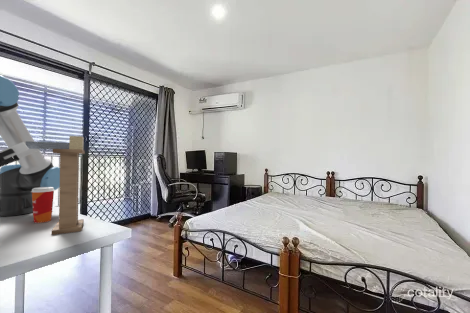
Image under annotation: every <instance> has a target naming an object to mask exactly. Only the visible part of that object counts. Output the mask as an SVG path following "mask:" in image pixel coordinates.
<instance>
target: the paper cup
mask: <svg viewBox="0 0 470 313" xmlns="http://www.w3.org/2000/svg"><path fill="white" fill-rule="evenodd" d="M55 191H56V190H54V188H53V187H38V188H33V189H32V191H31V192H32V203H33V212H32V214H33V215H32V216H33V223H34V224H42V223H43V224H44V223H49V222H51V221H52V216H53V206H54V195H55V194H54V192H55Z"/></svg>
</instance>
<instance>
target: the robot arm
mask: <svg viewBox="0 0 470 313" xmlns="http://www.w3.org/2000/svg"><path fill="white" fill-rule="evenodd" d="M19 96H20V92H19V89H18V88H17V86H16V85H15V83H14V82H13V81H12V80H11V79H9V78H8V77H7V76H3V75H1V74H0V137H1V138H2V140H3V141H4V144H6V146H7V147H8V148H7V147H6V148H5V149H2V150H0V217H10V216H11V217H13V216H20V215H25V214H31V213H32V214H33V203H32V192H31V191H32V189H33V188H38V187H53V188H54V190H55V191H57V190H58V189H60V167H59V166H54V164H53V163H52V161H51V160H50V159H48V158H45V157H44V155H43V153H42V152H41V149H29V148H28V147H27V146H26V141H30V142H35V140H34V138H33V136H32V134H31V133H30V131H29V130H28V128H27V127H26V124H25V123H24V121H23V119H22V118H21V116H20V115H19V113H18V111H17V110H18V108H19V104H18V101H19V98H20V97H19ZM14 162H18V164H11V163H14Z"/></svg>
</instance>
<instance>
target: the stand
mask: <svg viewBox="0 0 470 313" xmlns="http://www.w3.org/2000/svg"><path fill="white" fill-rule="evenodd" d="M52 153H53V154H59V168H60V187H59V195H58V196H59V198H58V200H59V201H58V203H59V204H58V205H59V207H58V209H59V210H58V221H56V222H57V223H56V224H55V225H54V227H53V228H52V230H51V236H53V235H62V234H68V233H69V234H70V233H71V234H72V233H77V232H82V231H83V227H84V222H85V221H84V219H79V186H80V185H79V179H80V178H79V177H80V176H79V175H80V154H81V155H85V154H86V153H85V149H83V150H82V149H52Z"/></svg>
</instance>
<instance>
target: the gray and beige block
mask: <svg viewBox="0 0 470 313" xmlns="http://www.w3.org/2000/svg"><path fill="white" fill-rule="evenodd" d="M84 139H85V138H84V137H83V136H80V135H79V136H78V135H69V142H57V141H54V142H53V141H51V142H50V141H34V142H30V141H26V146H27V147H28V148H29V149H39V150H53V149H82V150H84Z"/></svg>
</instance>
